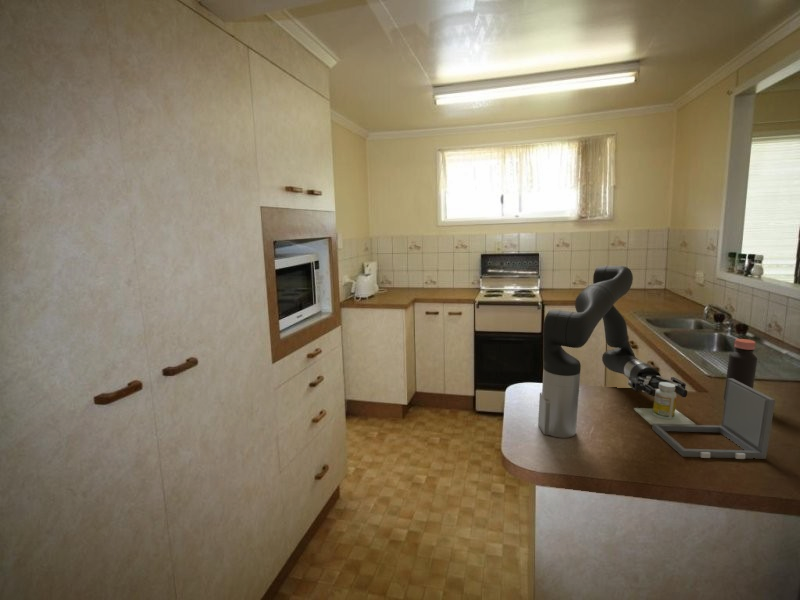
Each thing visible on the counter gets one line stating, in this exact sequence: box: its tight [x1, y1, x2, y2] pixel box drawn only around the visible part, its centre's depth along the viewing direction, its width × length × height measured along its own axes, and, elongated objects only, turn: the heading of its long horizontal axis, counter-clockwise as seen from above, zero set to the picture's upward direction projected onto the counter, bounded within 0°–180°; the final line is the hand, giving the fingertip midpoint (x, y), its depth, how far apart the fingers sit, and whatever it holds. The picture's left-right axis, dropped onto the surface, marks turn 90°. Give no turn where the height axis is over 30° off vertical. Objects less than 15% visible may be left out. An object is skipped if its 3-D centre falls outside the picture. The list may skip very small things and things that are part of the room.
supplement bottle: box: [652, 382, 678, 419], centre depth 122 cm, size 5×5×10 cm
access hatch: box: [651, 378, 776, 460], centre depth 107 cm, size 19×15×15 cm
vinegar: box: [723, 338, 758, 401], centre depth 131 cm, size 7×7×20 cm
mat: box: [633, 407, 697, 426], centre depth 122 cm, size 12×10×1 cm
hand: (669, 393), depth 119 cm, fingers open, 8 cm apart
